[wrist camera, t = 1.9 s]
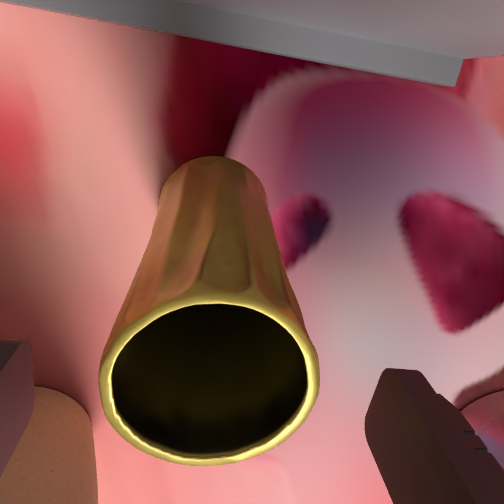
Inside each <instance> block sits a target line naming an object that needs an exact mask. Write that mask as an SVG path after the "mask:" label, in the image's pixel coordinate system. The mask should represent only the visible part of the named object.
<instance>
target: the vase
mask: <svg viewBox="0 0 504 504" xmlns="http://www.w3.org/2000/svg"><path fill="white" fill-rule="evenodd" d="M319 374H320V372H319V361H318V355H317V352H316V349H315V347H314V345H313V344H312V342H311V340H310V338H309V335H308V333H307V331H306V328H305V325H304V320H303V317H302V313H301V309H300V307H299V304H298V301H297V299H296V296H295V294H294V292H293V289H292V287H291V285H290V282H289V279H288V277H287V274H286V271H285V267H284V264H283V260H282V256H281V253H280V250H279V247H278V243H277V240H276V236H275V231H274V227H273V223H272V220H271V216H270V213H269V209H268V199H267V195H266V192H265V190H264V187H263V186H262V184H261V182H260V180H259V179H258V178H257V176H256V175H255V174H254V173H253V172H252V171H251V170H250V169H248V168H247V167H246V166H245V165H243V164H241V163H239V162H237V161H235V160H232V159H230V158H226V157H221V156H206V157H200V158H196V159H193V160H190V161H188V162H186V163H184V164H183V165H182V166H180V167H179V168H178V169H177V170H176V171H175V172H174V173H173V174H172V175H171V176H170V177H169V178H168V179H167V181H166V182H165V184H164V186H163V188H162V191H161V194H160V198H159V202H158V213H157V216H156V220H155V223H154V226H153V230H152V235H151V238H150V240H149V243H148V245H147V248H146V250H145V253H144V255H143V258H142V260H141V263H140V265H139V267H138V270H137V272H136V274H135V277H134V279H133V281H132V284H131V286H130V289H129V291H128V293H127V296H126V298H125V300H124V303H123V305H122V307H121V309H120V312H119V314H118V316H117V318H116V321H115V323H114V326H113V328H112V331H111V333H110V336H109V338H108V341H107V343H106V346H105V348H104V351H103V354H102V357H101V361H100V367H99V389H100V396H101V403H102V407H103V410H104V413H105V416H106V418H107V419H108V421H109V422H110V424H111V425H112V427H113V428H114V429H115V430H116V431H117V432H118V434H120V435H121V436H122V437H123V438H124V439H125V440H126V441H127V442H129V443H130V444H131V445H133V446H134V447H136V448H137V449H139V450H141V451H143V452H145V453H147V454H149V455H152V456H155V457H157V458H160V459H163V460H165V461H168V462H172V463H177V464H183V465H191V466H210V465H223V464H231V463H236V462H240V461H243V460H247V459H250V458H253V457H255V456H258V455H260V454H262V453H264V452H267V451H269V450H271V449H273V448H275V447H276V446H278V445H279V444H281V443H282V442H284V441H285V440H286V439H287V438H289V437H290V436H291V435H292V434H293V433H294V432H295V431H296V430H297V429H298V428H299V427H300V426H301V425H302V423H303V422H304V421H305V420H306V418H307V417H308V415H309V413H310V412H311V410H312V407H313V406H314V404H315V402H316V399H317V396H318V393H319V386H320V384H319V383H320V375H319Z"/></svg>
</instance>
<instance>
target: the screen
mask: <svg viewBox="0 0 504 504" xmlns="http://www.w3.org/2000/svg"><path fill="white" fill-rule="evenodd" d="M0 2H4V3H9V4H15V5H20V6H25V7H30V8H36V9H41V10H46V11H51V12H57V13H62V14H67V15H72V16H78V17H83V18H88V19H93V20H99V21H104V22H109V23H114V24H120V25H125V26H130V27H135V28H141V29H146V30H151V31H157V32H162V33H167V34H172V35H178V36H183V37H188V38H193V39H199V40H204V41H209V42H214V43H220V44H225V45H230V46H235V47H241V48H246V49H251V50H256V51H262V52H267V53H272V54H277V55H283V56H288V57H293V58H298V59H304V60H309V61H314V62H319V63H325V64H330V65H335V66H340V67H346V68H351V69H356V70H361V71H367V72H372V73H377V74H382V75H388V76H393V77H398V78H403V79H409V80H414V81H419V82H424V83H430V84H435V85H440V86H455V84H456V81H457V78H458V75H459V72H460V69H461V66H462V63H463V60H464V59H471V58H482V57H493V56H504V0H0Z"/></svg>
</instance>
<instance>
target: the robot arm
mask: <svg viewBox="0 0 504 504" xmlns="http://www.w3.org/2000/svg"><path fill="white" fill-rule="evenodd" d="M34 400H35V389H34V373H33V357H32V346H31V342H30V341H29V340H28V339H16V338H3V337H0V477H1V475H2V473H3V471H4V469H5V467H6V465H7V463H8V462H9V460H10V458H11V456H12V454H13V452H14V450H15V448H16V446H17V444H18V443H19V441H20V439H21V437H22V435H23V433H24V431H25V429H26V427H27V425H28V423H29V421H30V418H31V415H32V411H33V407H34ZM365 434H366V439H367V442H368V445H369V447H370V449H371V452H372V454H373V457H374V459H375V461H376V464H377V466H378V468H379V471H380V473H381V476H382V478H383V480H384V483H385V485H386V487H387V490H388V492H389V495H390V497H391V499H392V501H393V504H504V391H500V392H496V393H492V394H489V395H487V396H485V397H482V398H480V399H478V400H476V401H475V402H473V403H471V404H470V405H468V406H467V407H465V408H464V409H463V410H462V411H459V410H458V409H457V408H456V407H455V406H454V405H452V404H451V403H450V402H449V401H448V400H447V399H445V398H444V397H443V396H442V395H441V394H436V392H435V391H434V389H433V388H432V387H431V385H430V384H429V382H428V381H427V379H426V378H425V377H424V375H423V374H422V373H421V372H419V371H417V370H406V369H394V368H387V369H385V370H384V371H383V372H382V374H381V376H380V379H379V381H378V384H377V387H376V389H375V392H374V395H373V397H372V400H371V403H370V405H369V408H368V411H367V413H366V417H365Z"/></svg>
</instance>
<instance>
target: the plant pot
mask: <svg viewBox="0 0 504 504" xmlns="http://www.w3.org/2000/svg"><path fill="white" fill-rule="evenodd" d="M34 389H35V400H34V407H33V411H32V415H31V418H30V421H29V423H28V425H27V427H26V429H25V431H24V433H23V435H22V437H21V439H20V441H19V443H18V444H17V446H16V448H15V450H14V452H13V454H12V456H11V458H10V460H9V462H8V463H7V465H6V467H5V469H4V471H3V473H2V475H1V477H0V504H98V488H97V472H96V459H95V449H94V440H93V433H92V425H91V421H90V419H89V416H88V414H87V413H86V411H85V410H84V409H83V408H82V406H81V405H80V404H78V403H77V402H76V401H75V400H73V399H72V398H70V397H69V396H67V395H65V394H63V393H61V392H58V391H56V390H53V389H49V388H44V387H37V386H34Z"/></svg>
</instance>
